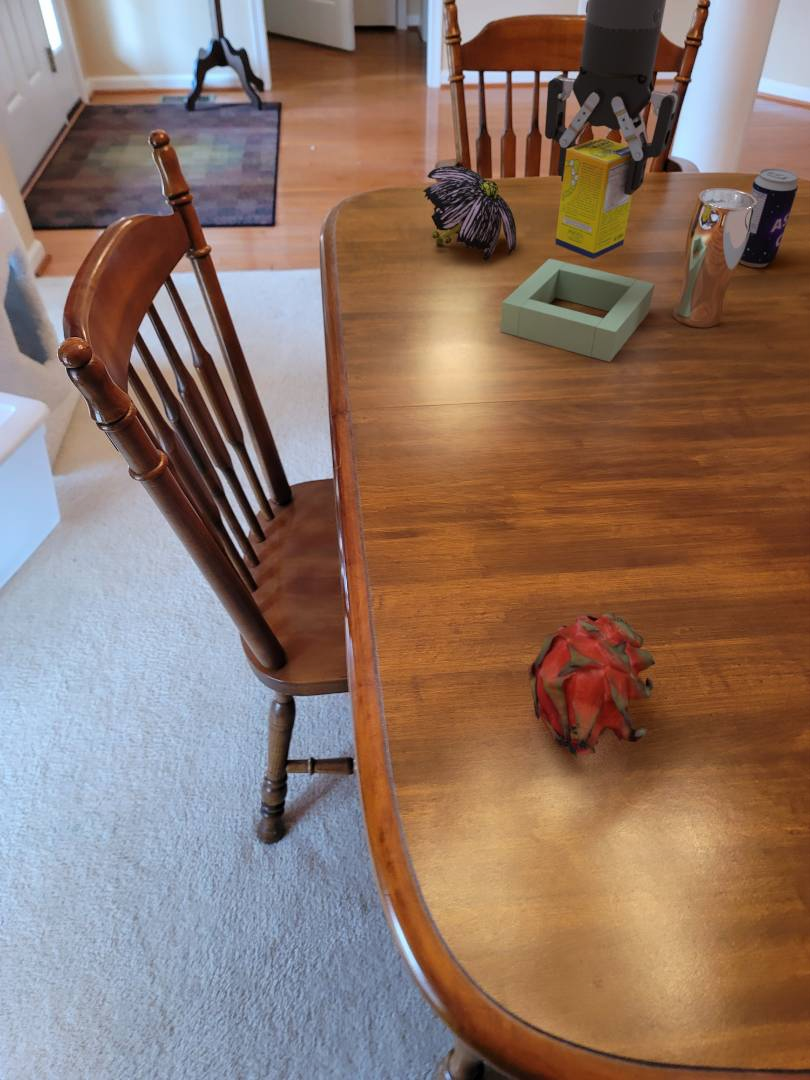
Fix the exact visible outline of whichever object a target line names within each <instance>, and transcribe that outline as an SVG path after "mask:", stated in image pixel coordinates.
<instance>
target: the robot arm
mask: <svg viewBox="0 0 810 1080" xmlns="http://www.w3.org/2000/svg"><path fill="white" fill-rule="evenodd" d="M666 3H667V0H587V1H586V5H585V22H584V30H583V36H582V45H581V52H580V53H581V54H580V62H579V71H578V74H577V75H576V78H571V77H567V76H566V75H565V74H559V75H557V76H555V77H554V78H552V79H550V80H549V82H548V84H547V94H546V95H547V96H546V98H547V99H546V109H545V111H546V113H545V126H544V135H545V137H546V139H548V140H554V142H557V143H558V145H559V156H558V164H557V175H558V176H559V177H560V181H561V183H563V176H564V167H565V159H566V150H567V149H568V148H571V147H574V146H577V145H579V144H578V143H576V142H577V139H578V138H579V137H580V135H581V134H582V133H583V131H584V130H585V129H586V127H587V126H588V125H590V126H591V127H596V128H598V127H599V128H600V127H606V128H608V129H610V130H614V131H619V130H620V131H621V133H622V137H623V139H624V141H625V142H626V143H627V146H629V149H630V152H631V154H632V157H633V158H632V159H631V160H630V162H629V168H628V173H627V179H626V185H625V190H624V194H627V195H632V196H633V194H634V193H635V192H636V191H638V190H639V189H640V188H641V186H642V185H643V183H644V178H645V173H646V168H647V162H648V159H651V158H654V159H655V158H658V157H659V156H661V155H662V154H663V153H664V152H665V151H666V150H667V149H668V147H669V142H670V140H671V135H672V130H673V127H674V123H675V120H676V115H677V111H678V109H679V108H678V107H679V104H680V99H681V94H680V92H679V91H678V90H672V91H671V92H665V91H659V90H655V88H654V84H653V75H654V70H655V64H656V58H657V54H658V48H659V41H660V37H661V31H662V25H663V21H664V20H663V19H664V15H665V9H666ZM572 91H573V95H574V97H575V98H576V101H577V103H578V106H579V107H580V108H579V110H578V112H577V113H576V114H575V116H574V117H573V118H572V119H571V122H569V124H568V127H566V126H564V125H565V112H566V102H567V101H566V100H567V99H569V98H570V96H571V93H572ZM649 104H652V107H653V114H654V115H655V116H656V117H657V119H656V122H655V127H654V131H653V136H652V140H651V142H649V139H648V135H647V132H646V124H645V122H644V118H643V115H642V111H643V110H644V109H645V108H646V107H647V106H648V105H649Z"/></svg>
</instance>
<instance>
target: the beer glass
mask: <svg viewBox="0 0 810 1080" xmlns="http://www.w3.org/2000/svg"><path fill="white" fill-rule="evenodd" d="M756 204H757V200H756V199H755V197H753V196H752V195H750V193H748V192H745V191H742V190H739V189H733V188H726V187H725V188H724V187H714V188H708V189H707V188H706V189H704V190H702V191H700V192H699V193H698V197H697V200H696V204H695V207H694V209H693V213H692V217H691V219H690V222H689V226H688V229H687V230H688V232H687V234H686V235H687V236H686V240H685V248H684V249H685V250H684V262H683V277H682V278H683V279H682V284H681V289H680V292H679V295H678V297H677V300H676V302H675V304H674V307H673V309H672V316H673V318H674V319H675V320H676V321H677V322H679V323H681V324H682V325H686V326H689V327H692V328H700V329H701V328H703V329H705V328H706V329H707V328H712V327H715V326H717V325H719V324H720V323H721V321H722V319H723V310H724V302H725V301H724V300H725V295H726V292H727V290H728V287H729V285H730V283H731V280H732V279H733V276H734V274H735V272H736V271H737V268H738V266H739V264H740V260H741V258H742V255H743V253H744V251H745V248H746V245H747V242H748V239H749V235H750V231H751V227H752V222H753V218H754V212H755V208H756Z"/></svg>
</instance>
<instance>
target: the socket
mask: <svg viewBox="0 0 810 1080" xmlns="http://www.w3.org/2000/svg"><path fill="white" fill-rule="evenodd" d="M655 287H656V283H653V282H649V281H645V280H642V279H641V280H640V279H637V278H632V277H628V276H624V275H620V274H615V273H611V272H606V271H603V270H600V269H599V270H598V269H594V268H592V267H591V268H590V267H586V266H583V265H578V264H575V263H574V264H573V263H569V262H566V261H563V260H562V261H561V260H558V259H553V258H548V259H547V260H546V261H545V262H544V263H543V264H542V265H540V266H539V268H538V269H536V270H535V272H533V273H532V274H531V275H530V276H529V277H527V279H525V281H524V282H523V283H521V284H520V285H519V286H518V287H516V289H515V290H514V291H513V292H512V293H510V295H508V296H507V297H506V298H505V299H504V300H503V301H502V305H501V315H500V327H499V332H500V333H504V334H508V335H512V336H515V337H518V338H522V339H525V340H529V341H533V342H536V343H539V344H542V345H547V346H551V347H554V348H557V349H560V350H564V351H568V352H571V353H575V354H578V355H582V356H586V357H589V358H592V359H597V360H602V361H604V362H608V363H611V361H612V360H613V359H614V358H615V356H616V355H617V354H618V352H619V351H620V350H621V349H622V347H624V345H625V344H626V342H627V341H628V340H629V338H630V337H631V336H632V335H633V334H634V332H635V331H636V330H637V328H638V327H639V326H640V325H641V323H642V322H643V321H644V319H645V318H646V317H647V316H648V314H649V313H650V310H651V304H652V299H653V295H654V290H655ZM555 299H559V300H563V301H566V302H571V303H574V304H579V305H582V306H587V307H590V308H594V309H597V310H602V311H606V312H608V313H606V315H605V316H604V317H600V316H597V315H592V314H589V313H585V312H581V311H578V310H577V311H576V310H573V309H570V308H566V307H562V306H558V305H554V304H552V302H553V301H554V300H555Z"/></svg>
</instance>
